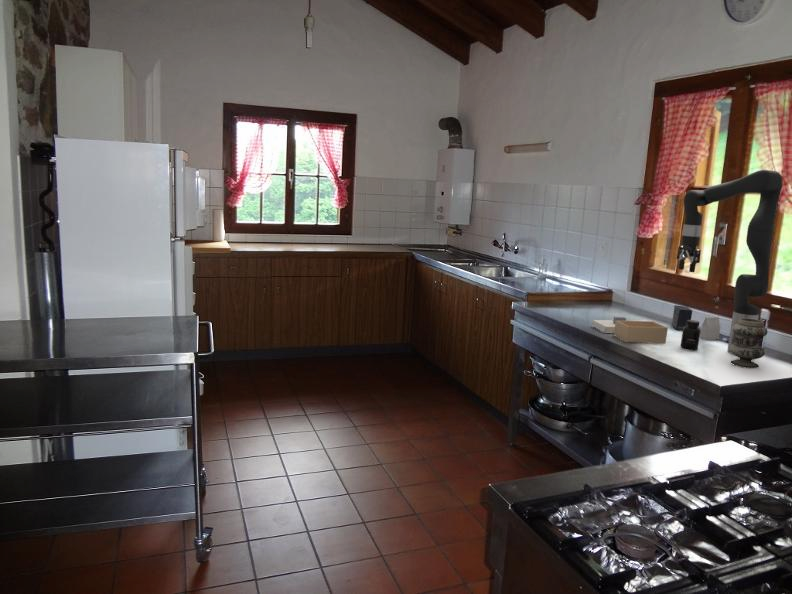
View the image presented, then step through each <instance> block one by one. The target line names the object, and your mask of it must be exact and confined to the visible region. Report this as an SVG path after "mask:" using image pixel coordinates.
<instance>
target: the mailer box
mask: <svg viewBox="0 0 792 594" xmlns="http://www.w3.org/2000/svg"><path fill="white" fill-rule="evenodd" d="M614 335H616V336H617V337H619V338H621V339H623V340H625V341H627V342H642V343H641V344H666V343H667V337H668V327H667V326H665V325H662V324H660V323H658V322H656V321H652V320H651V321H649V320H647V321H646V320H626V321H617V320H616V322H615V330H614V334H613V336H614ZM616 336H615V337H616ZM617 337H616V338H617ZM619 338H618V339H619ZM621 339H620V340H621ZM623 340H622V341H623ZM625 341H624V342H625ZM627 342H626V343H627Z"/></svg>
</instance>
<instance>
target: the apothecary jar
mask: <svg viewBox="0 0 792 594" xmlns="http://www.w3.org/2000/svg"><path fill="white" fill-rule="evenodd" d="M733 330H734V332H735V339H734V344H732V345H731V346H730V347H729V350H730V352H731V353H730V354H732V355H733V356H735V357H736V358H735V359H732V360H731V361H730V364H731V363H732V364H731V365H733V364H734V366H736V365H737V366H736V367H739V366H740V368H744V367H746V369H759V368H760V365H759V363H756V362H754V361H753V360H758V359H760V358H763V357H764V356H765V350H764V348H763V341H764V340H763V339H764V337H765V336H767V334H768V328H766V326H765V322H764V320H761V319H758V320H757V319H751V318H739V321H738V323H736V324H735V325H734V326H733Z"/></svg>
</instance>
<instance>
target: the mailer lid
mask: <svg viewBox="0 0 792 594" xmlns="http://www.w3.org/2000/svg"><path fill="white" fill-rule="evenodd" d="M616 320H617V321H627V318H626V317H624V316H614V317H613V320H612V319H611V320H606V319H603V320H601V319H592V325H593V326H595V327H596V328H598V329H600V330H601V331H603V332H605V333H614V330H615V322H616ZM601 331H600V332H601ZM603 332H602V333H603Z"/></svg>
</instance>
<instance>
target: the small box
mask: <svg viewBox="0 0 792 594" xmlns="http://www.w3.org/2000/svg"><path fill="white" fill-rule="evenodd" d="M692 315H693V309H691V308H689V307H688V306H685V305H684V306H683V305H677V304H675V305H674V307H673V315H672V320H671V324H670V325H671V327H672V328H673V329H674V330H675V331H683V328H684V327H685V326H687V325H686V323H687V320H692Z"/></svg>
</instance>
